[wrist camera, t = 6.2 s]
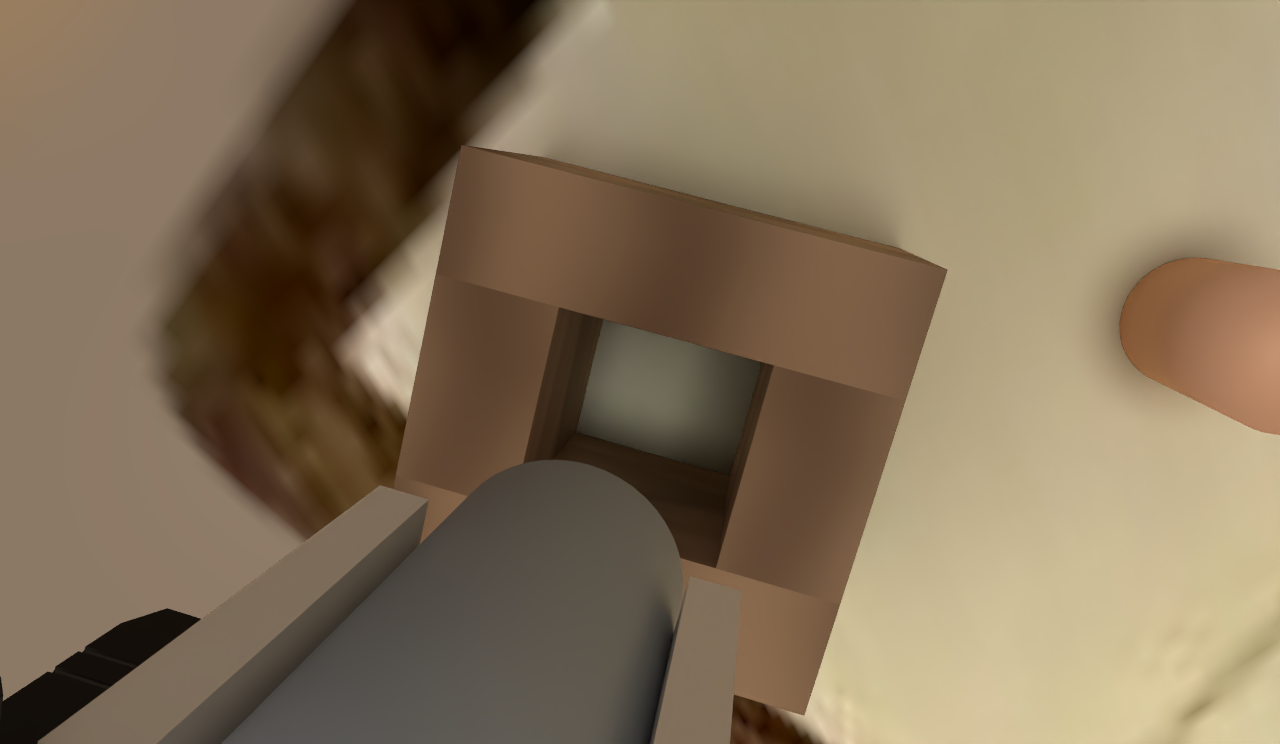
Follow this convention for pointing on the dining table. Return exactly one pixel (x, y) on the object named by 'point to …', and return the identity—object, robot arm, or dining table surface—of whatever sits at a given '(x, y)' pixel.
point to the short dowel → (1210, 336)
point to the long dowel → (501, 626)
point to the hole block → (689, 311)
